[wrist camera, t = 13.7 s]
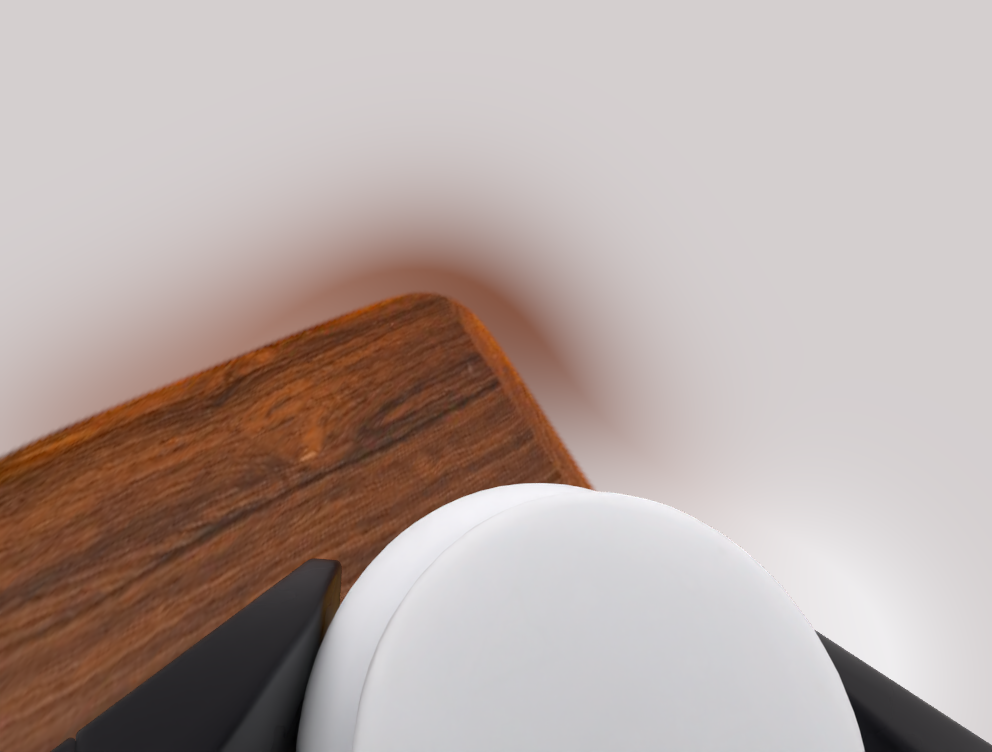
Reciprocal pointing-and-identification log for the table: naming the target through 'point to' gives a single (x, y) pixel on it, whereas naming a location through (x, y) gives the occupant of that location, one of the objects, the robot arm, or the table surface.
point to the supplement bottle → (570, 638)
